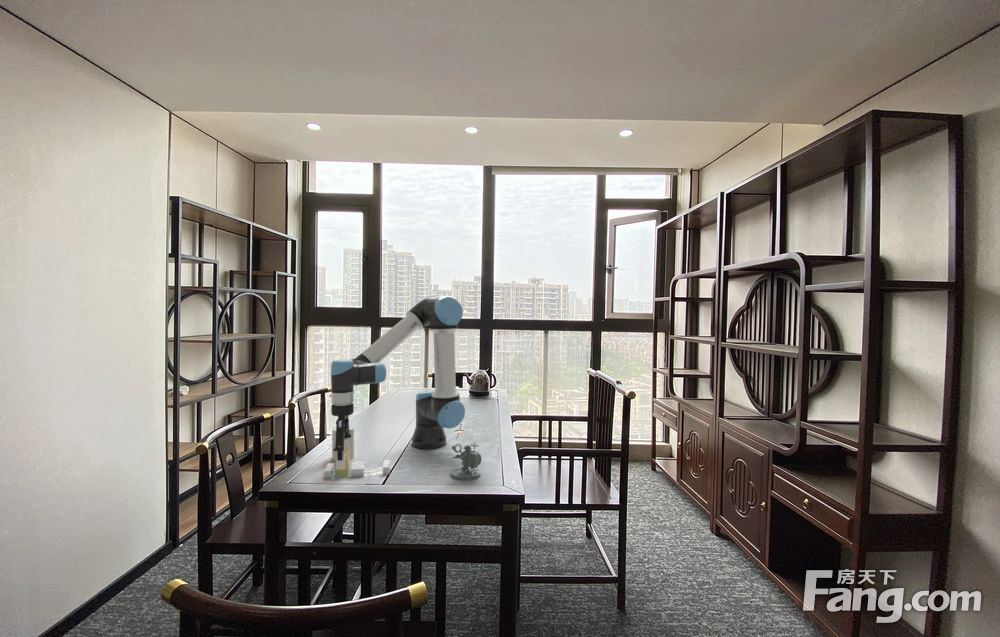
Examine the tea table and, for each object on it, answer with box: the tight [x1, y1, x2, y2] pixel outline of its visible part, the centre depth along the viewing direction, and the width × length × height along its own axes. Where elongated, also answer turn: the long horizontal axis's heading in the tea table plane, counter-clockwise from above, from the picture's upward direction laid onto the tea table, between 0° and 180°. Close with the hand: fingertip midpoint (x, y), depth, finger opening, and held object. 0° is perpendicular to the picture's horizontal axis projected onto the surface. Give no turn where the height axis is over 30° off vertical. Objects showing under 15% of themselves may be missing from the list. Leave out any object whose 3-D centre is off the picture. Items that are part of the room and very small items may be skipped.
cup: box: [331, 425, 355, 461], centre depth 178 cm, size 8×8×12 cm
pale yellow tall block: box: [334, 448, 351, 475], centre depth 161 cm, size 4×4×8 cm
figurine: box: [450, 442, 482, 481], centre depth 162 cm, size 11×11×12 cm
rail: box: [323, 459, 391, 480], centre depth 162 cm, size 22×8×3 cm, turn 102°
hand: (342, 462), depth 161 cm, fingers open, 13 cm apart
